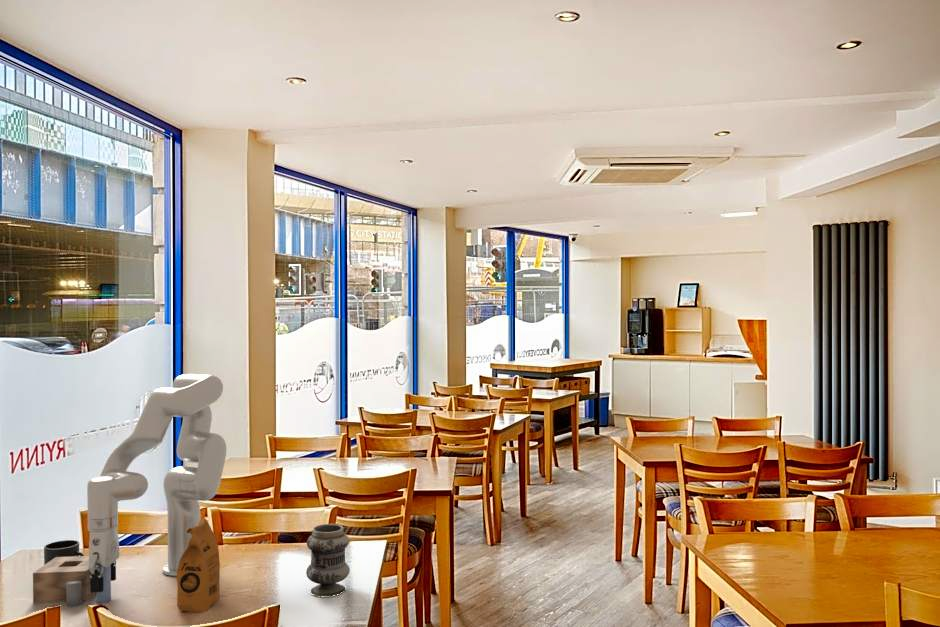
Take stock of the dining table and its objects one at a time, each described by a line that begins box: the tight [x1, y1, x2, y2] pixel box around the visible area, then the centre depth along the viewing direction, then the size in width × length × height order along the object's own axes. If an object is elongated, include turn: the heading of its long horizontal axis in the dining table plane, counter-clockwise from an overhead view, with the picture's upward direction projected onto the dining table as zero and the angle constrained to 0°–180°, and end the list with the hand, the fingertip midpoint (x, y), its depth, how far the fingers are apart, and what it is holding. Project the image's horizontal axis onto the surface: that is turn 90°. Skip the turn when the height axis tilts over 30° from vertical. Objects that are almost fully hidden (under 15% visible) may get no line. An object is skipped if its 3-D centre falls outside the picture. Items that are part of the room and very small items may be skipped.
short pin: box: [66, 580, 83, 608], centre depth 208 cm, size 4×4×6 cm
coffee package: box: [176, 517, 221, 613], centre depth 207 cm, size 10×12×22 cm
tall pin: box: [95, 564, 112, 604], centre depth 211 cm, size 4×4×14 cm
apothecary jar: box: [306, 523, 351, 598], centre depth 216 cm, size 12×12×18 cm
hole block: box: [32, 555, 96, 603], centre depth 218 cm, size 14×14×8 cm
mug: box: [43, 539, 85, 566], centre depth 233 cm, size 9×12×9 cm
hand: (103, 585), depth 211 cm, fingers open, 8 cm apart
